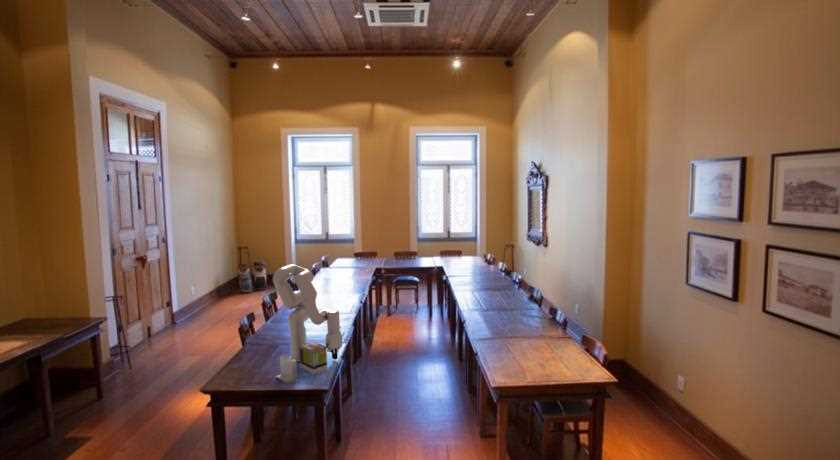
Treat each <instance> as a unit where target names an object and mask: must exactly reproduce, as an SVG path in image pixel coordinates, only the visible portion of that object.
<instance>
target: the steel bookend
mask: <svg viewBox="0 0 840 460" xmlns="http://www.w3.org/2000/svg"><path fill="white" fill-rule="evenodd" d="M279 365H280V374H279V375H276V377H275V378H278V379H280V380H281V381H280V380H279V381H280V382H282V381H283V382H282V383H284V382H285V384H286V383H287V384H286V385H290V384H292V382H293V383H295V382H297V381H298V372H297V371H298V368H297V362H296V360H294V359H292V358H290V356H288V355H285V354H284V355H281V356H279ZM278 379H277V380H278ZM296 380H297V381H296ZM294 381H295V382H294Z"/></svg>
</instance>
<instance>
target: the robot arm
mask: <svg viewBox="0 0 840 460" xmlns="http://www.w3.org/2000/svg"><path fill="white" fill-rule="evenodd" d="M292 278H294V282H295V284H296V286H297V288H298V290H295V291H294V290H293V288H292V286H291V285H290V283H289V281H288V280H290V279H292ZM314 278H315V276H314V274H313V272H312V271H311V270H309V269H307V268H304V267H301V266H299V265H296V264H294V263H292V264H287V265H284V266H281V267H279V268H278V269H276V271H275V272H274V273H273V275H272V283H273V284H274V287H275V289H276V292H277V293H278V295H279V297H280V300H281V303H282V304H283V306H284V307H285V309H286V310H293V309H294V310H293V311H291V312H290V313H289V315H288V318H287V322H288V326H289V332H290V333H289V334H290V350H289V353H290V354H291V355H290V356H289V357H290V358H292V359H294V360H296V363H300V362H299V361H300V345H302V344H305V343H307V332H306V331H307V330H306V326H305V322H306V321H308V320H309V319H310V321H311V323H313V325H316V326H319V325H321V324H323V323H324V322H326V323H327V324H326V325H327V326H326V327H327V329H326V330H327V332H326V335H325V346H326V353H327V352H328V353H331V358H332V359H333V360H338V352H339V350H340V349H341V348H342V347H343V338H342V337H343V336H342V332H341V329H342V328H341V327H342V326H341V325H340V324H341V323H340V311H339V310H336V309H332V310H331V309H327V308H320V309H318V307H317V304H316V302H317V297H318V296H317V295H318V292H317V290H316V288H315V286H314V285H313V283H312V282H313V281H314Z"/></svg>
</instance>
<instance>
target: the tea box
mask: <svg viewBox="0 0 840 460" xmlns="http://www.w3.org/2000/svg"><path fill="white" fill-rule="evenodd" d="M327 357H328V354H327V348H326V345H323V344H321V343H318V342H317V341H314V340H313V341H308V342H306V343H305V344H302V345H300V362H299V363H300V364H299V366H300V369H302V368H303V369H302V370H304V371H305V370H306V372H307V371H308V373H309V372H310V374H311V375H318V374H321V373H323V372H325V371H328V358H327ZM322 371H323V372H322ZM320 372H321V373H320ZM317 373H318V374H317Z"/></svg>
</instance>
